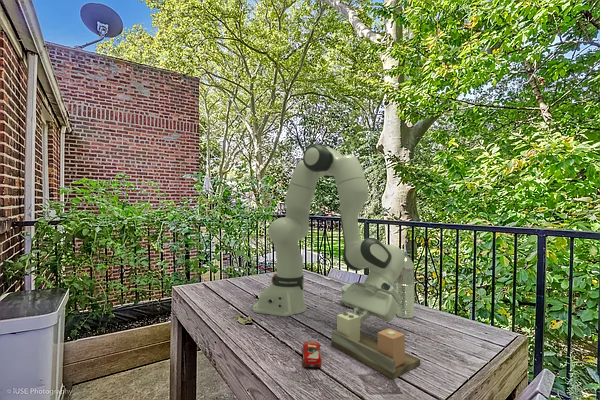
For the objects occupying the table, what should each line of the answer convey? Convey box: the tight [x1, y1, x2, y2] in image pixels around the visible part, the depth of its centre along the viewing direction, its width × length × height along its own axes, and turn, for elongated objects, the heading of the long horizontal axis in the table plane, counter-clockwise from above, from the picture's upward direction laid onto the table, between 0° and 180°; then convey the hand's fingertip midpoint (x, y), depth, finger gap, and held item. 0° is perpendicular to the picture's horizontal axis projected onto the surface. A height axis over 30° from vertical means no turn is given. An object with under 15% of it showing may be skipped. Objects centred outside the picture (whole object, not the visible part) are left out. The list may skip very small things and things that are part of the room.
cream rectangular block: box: [336, 311, 361, 341], centre depth 94 cm, size 5×5×8 cm
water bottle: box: [395, 252, 415, 320], centre depth 120 cm, size 7×7×25 cm
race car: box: [302, 340, 322, 369], centre depth 87 cm, size 13×5×4 cm, turn 178°
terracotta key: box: [377, 328, 406, 367], centre depth 81 cm, size 5×5×8 cm
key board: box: [330, 329, 421, 380], centre depth 89 cm, size 12×23×4 cm, turn 36°
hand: (356, 322), depth 96 cm, fingers closed
